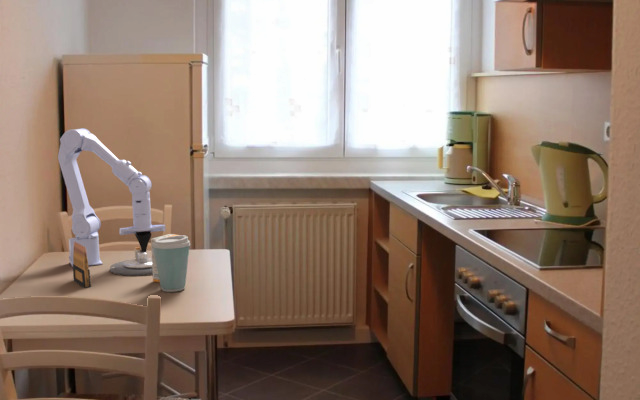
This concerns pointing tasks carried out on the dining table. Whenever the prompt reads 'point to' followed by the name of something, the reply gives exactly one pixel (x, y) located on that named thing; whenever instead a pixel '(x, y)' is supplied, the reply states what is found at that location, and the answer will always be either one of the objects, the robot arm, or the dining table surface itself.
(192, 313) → the dining table surface
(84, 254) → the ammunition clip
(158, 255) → the disposable coffee cup
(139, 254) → the dial
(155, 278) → the supplement box
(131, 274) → the dial base
